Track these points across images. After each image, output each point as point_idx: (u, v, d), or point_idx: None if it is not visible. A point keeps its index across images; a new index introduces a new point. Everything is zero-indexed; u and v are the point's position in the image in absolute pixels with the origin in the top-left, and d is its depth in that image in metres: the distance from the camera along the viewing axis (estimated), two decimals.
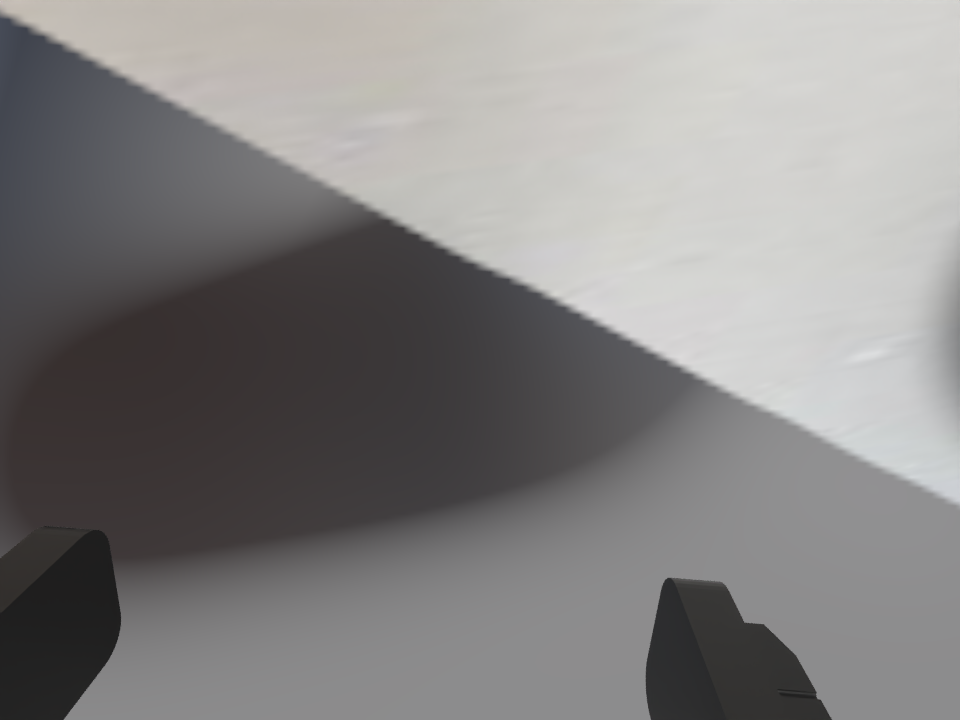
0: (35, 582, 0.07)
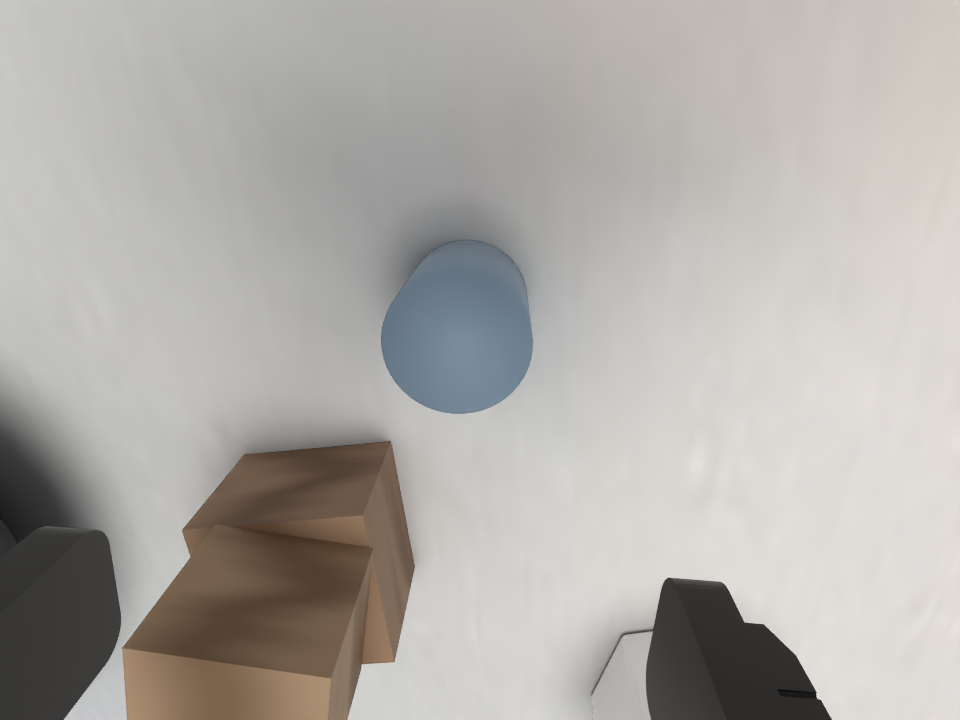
0: (35, 582, 0.07)
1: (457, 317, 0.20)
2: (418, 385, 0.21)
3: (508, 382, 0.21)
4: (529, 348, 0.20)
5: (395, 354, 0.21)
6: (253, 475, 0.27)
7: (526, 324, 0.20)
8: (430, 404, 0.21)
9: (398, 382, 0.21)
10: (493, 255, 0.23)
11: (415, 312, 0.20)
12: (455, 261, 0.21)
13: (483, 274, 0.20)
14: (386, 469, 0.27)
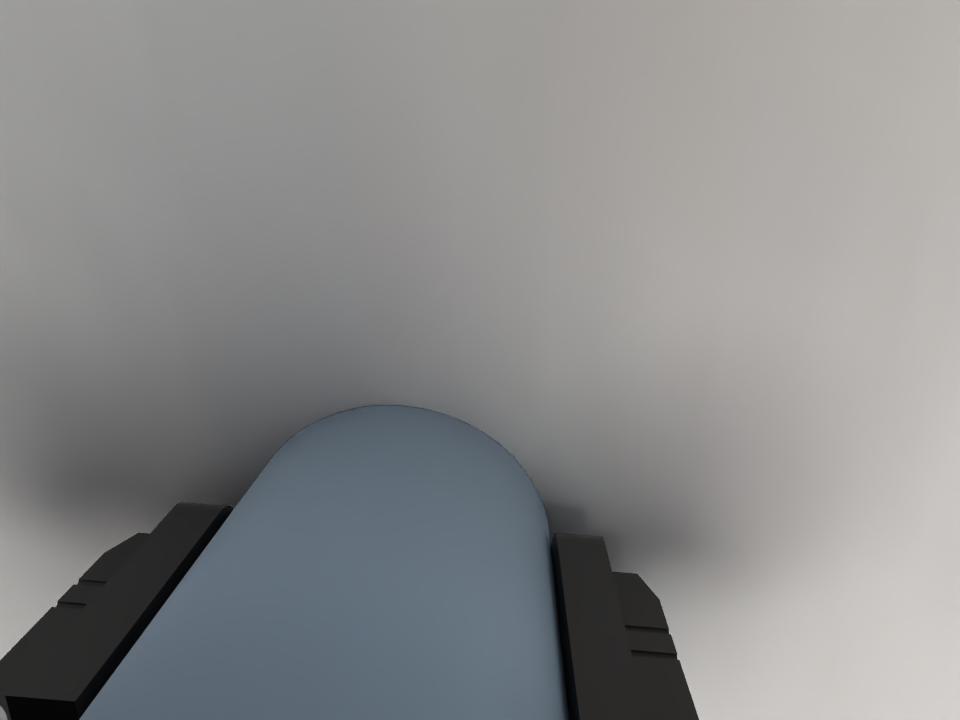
0: (191, 550, 0.08)
1: None
2: None
3: None
4: None
5: None
6: None
7: None
8: None
9: None
10: (454, 493, 0.08)
11: None
12: (280, 634, 0.05)
13: None
14: None
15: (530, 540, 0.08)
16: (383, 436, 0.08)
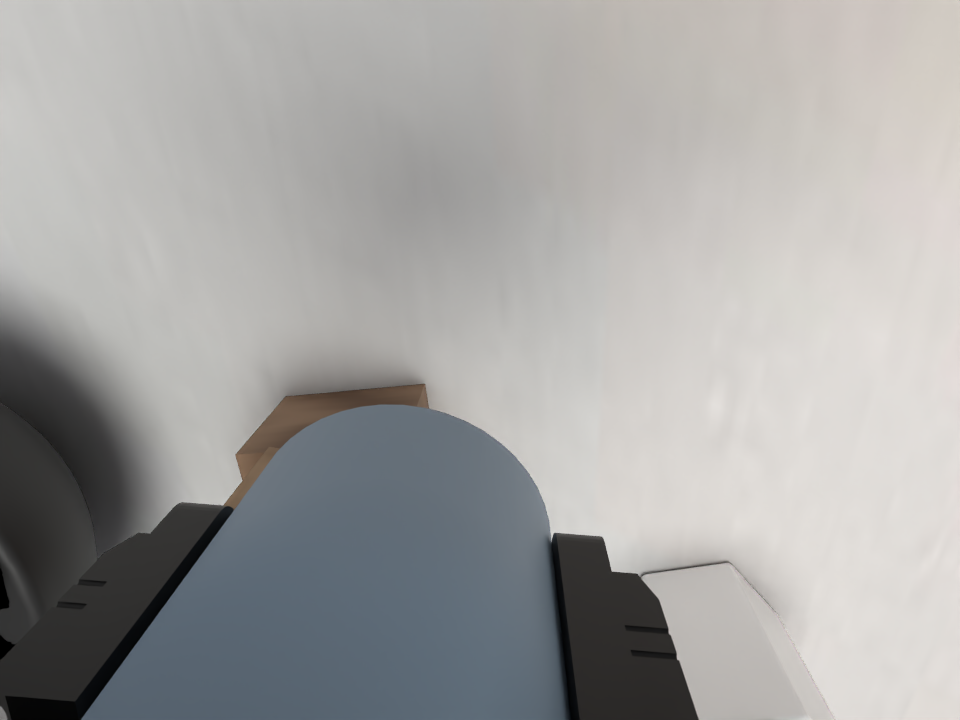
0: (191, 551, 0.08)
1: None
2: None
3: None
4: None
5: None
6: (297, 412, 0.29)
7: None
8: None
9: None
10: (456, 492, 0.08)
11: None
12: (283, 632, 0.05)
13: None
14: None
15: (531, 539, 0.08)
16: (384, 435, 0.08)
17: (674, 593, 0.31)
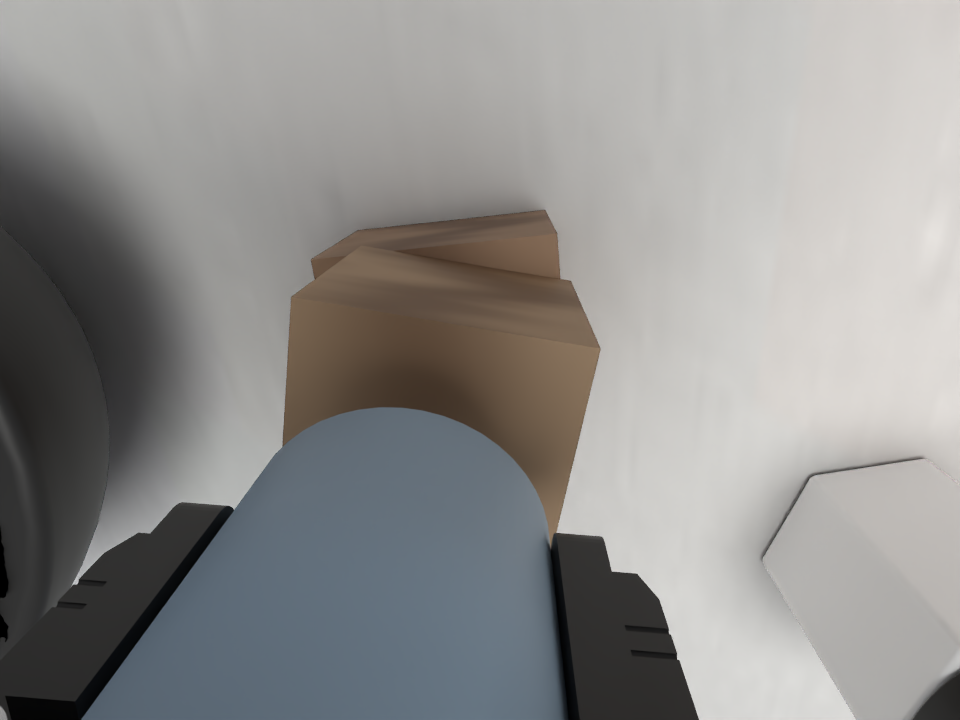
0: (191, 551, 0.08)
1: None
2: None
3: None
4: None
5: None
6: (381, 235, 0.21)
7: None
8: None
9: None
10: (454, 496, 0.08)
11: None
12: (280, 638, 0.05)
13: None
14: None
15: (530, 543, 0.08)
16: (383, 438, 0.08)
17: (865, 492, 0.24)
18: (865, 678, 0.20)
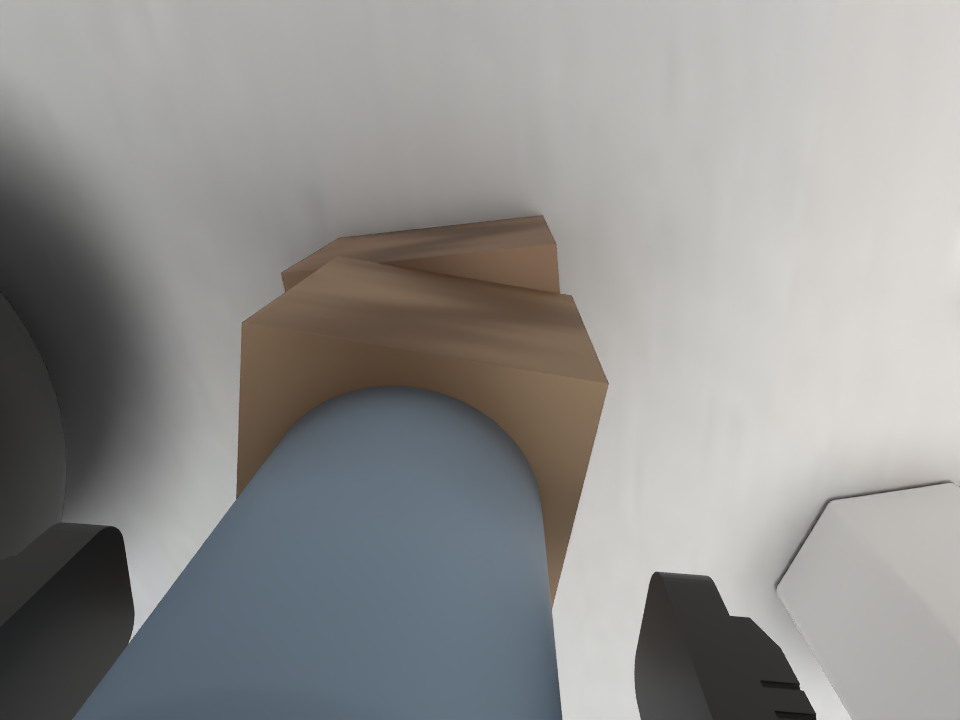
0: (53, 577, 0.08)
1: None
2: None
3: None
4: None
5: None
6: (363, 243, 0.19)
7: None
8: None
9: None
10: (453, 460, 0.08)
11: None
12: (303, 568, 0.06)
13: (381, 703, 0.05)
14: None
15: (522, 505, 0.09)
16: (388, 411, 0.09)
17: (889, 521, 0.22)
18: None
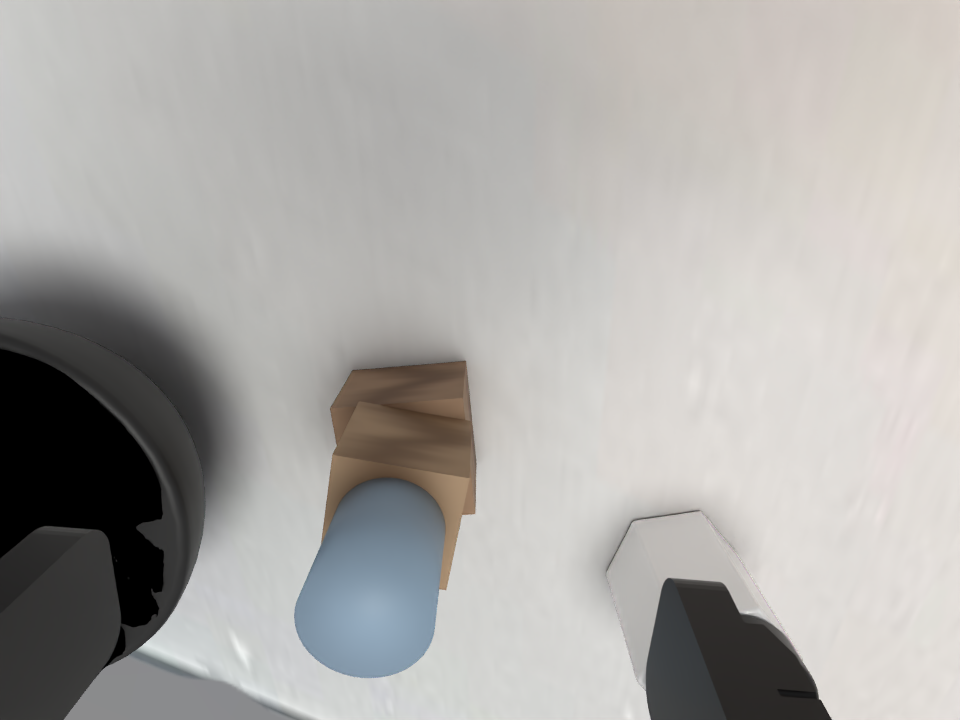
0: (35, 582, 0.07)
1: (364, 599, 0.22)
2: (329, 654, 0.23)
3: (413, 653, 0.22)
4: (432, 626, 0.22)
5: (307, 628, 0.22)
6: (367, 380, 0.36)
7: (428, 607, 0.22)
8: (341, 670, 0.23)
9: (310, 651, 0.22)
10: (409, 508, 0.25)
11: (326, 595, 0.22)
12: (366, 539, 0.23)
13: (388, 565, 0.21)
14: (466, 378, 0.37)
15: (433, 523, 0.26)
16: (386, 489, 0.26)
17: (658, 532, 0.40)
18: (638, 640, 0.35)
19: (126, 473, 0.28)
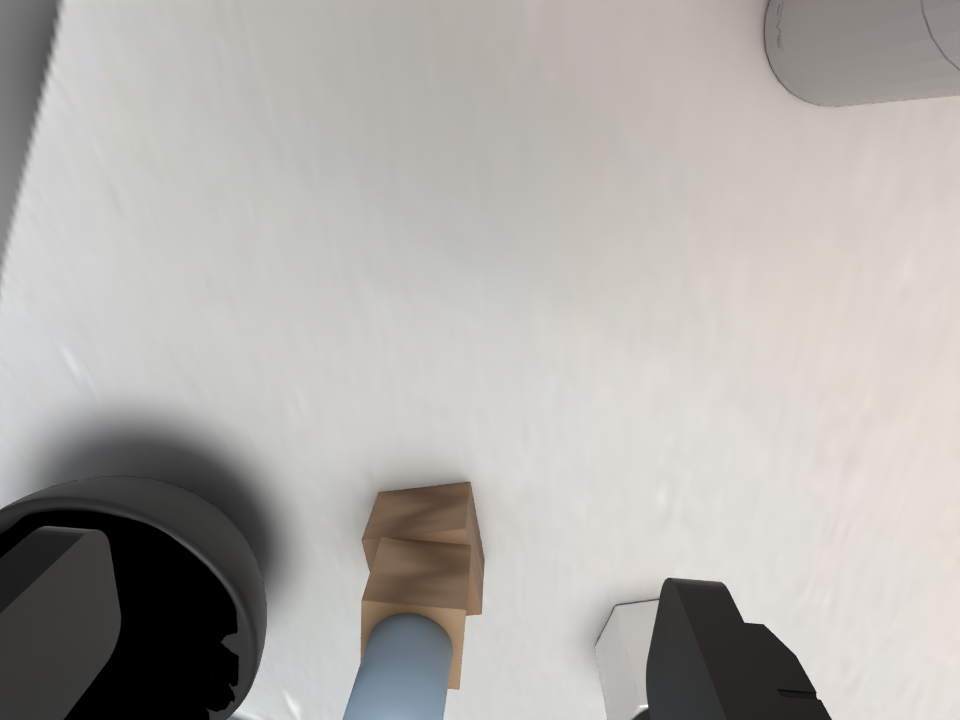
0: (35, 582, 0.07)
1: None
2: None
3: None
4: None
5: None
6: (390, 506, 0.45)
7: None
8: None
9: None
10: (416, 642, 0.34)
11: None
12: (382, 678, 0.31)
13: (397, 701, 0.30)
14: (470, 499, 0.45)
15: (436, 649, 0.34)
16: (399, 626, 0.35)
17: (635, 619, 0.47)
18: (614, 715, 0.43)
19: (212, 607, 0.37)
